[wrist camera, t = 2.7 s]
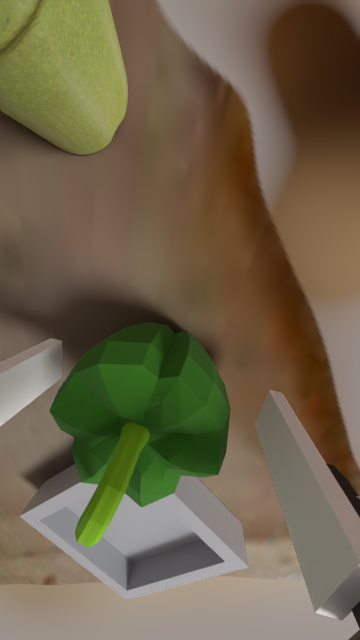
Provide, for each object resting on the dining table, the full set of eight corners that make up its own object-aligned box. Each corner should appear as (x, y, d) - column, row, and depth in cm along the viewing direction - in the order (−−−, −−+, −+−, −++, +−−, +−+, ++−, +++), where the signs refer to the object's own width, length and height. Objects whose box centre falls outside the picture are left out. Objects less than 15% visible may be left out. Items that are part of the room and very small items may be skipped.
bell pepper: (169, 284, 13) (92, 327, 4) (237, 364, 15) (308, 549, 5) (96, 348, 16) (-70, 480, 6) (160, 414, 17) (108, 610, 7)
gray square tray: (135, 560, 24) (126, 600, 21) (43, 482, 21) (19, 516, 18) (241, 523, 20) (248, 567, 17) (143, 421, 17) (132, 453, 14)
